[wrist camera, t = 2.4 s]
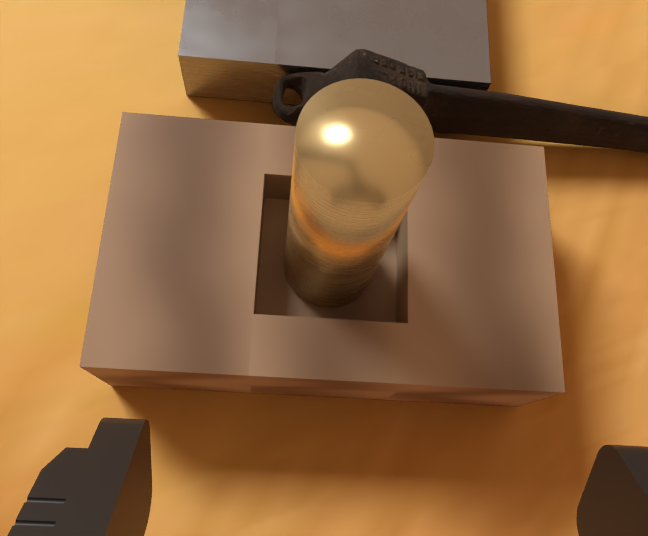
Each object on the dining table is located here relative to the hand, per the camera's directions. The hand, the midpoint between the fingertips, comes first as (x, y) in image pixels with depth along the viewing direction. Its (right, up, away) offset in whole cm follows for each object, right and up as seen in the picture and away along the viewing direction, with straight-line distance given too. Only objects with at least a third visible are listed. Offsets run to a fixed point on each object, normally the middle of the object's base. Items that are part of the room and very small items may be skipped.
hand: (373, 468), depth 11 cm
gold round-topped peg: (-1, +4, +14) cm, 15 cm away
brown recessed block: (-1, +3, +16) cm, 17 cm away
